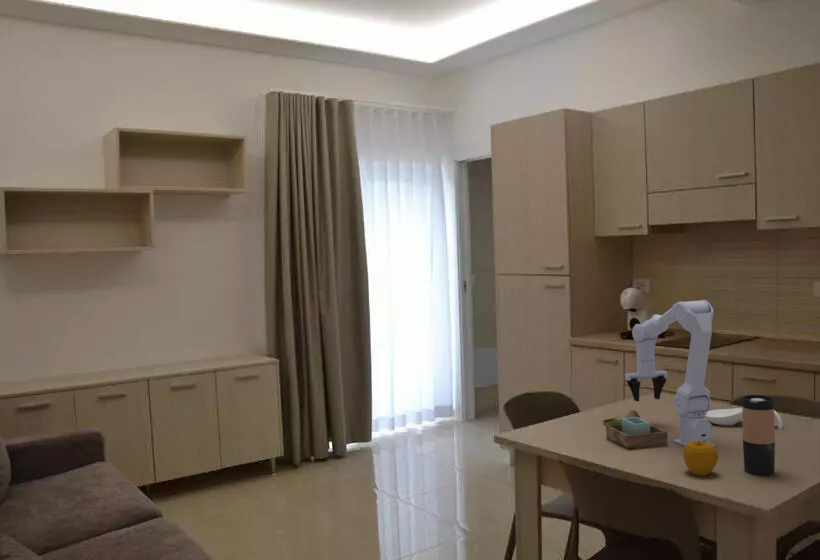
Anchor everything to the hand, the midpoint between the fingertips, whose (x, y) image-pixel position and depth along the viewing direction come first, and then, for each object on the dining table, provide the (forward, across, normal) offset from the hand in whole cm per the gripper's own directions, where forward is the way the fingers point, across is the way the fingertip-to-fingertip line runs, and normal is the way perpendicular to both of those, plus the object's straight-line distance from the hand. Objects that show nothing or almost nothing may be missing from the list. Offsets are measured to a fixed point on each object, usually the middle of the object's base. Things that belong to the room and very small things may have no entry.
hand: (646, 399), depth 236 cm
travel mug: (+10, -2, +51) cm, 52 cm away
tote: (+8, +13, +15) cm, 21 cm away
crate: (+9, +13, +15) cm, 22 cm away
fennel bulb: (+6, 0, -5) cm, 8 cm away
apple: (+10, +13, +47) cm, 50 cm away
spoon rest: (+10, -30, +8) cm, 33 cm away
